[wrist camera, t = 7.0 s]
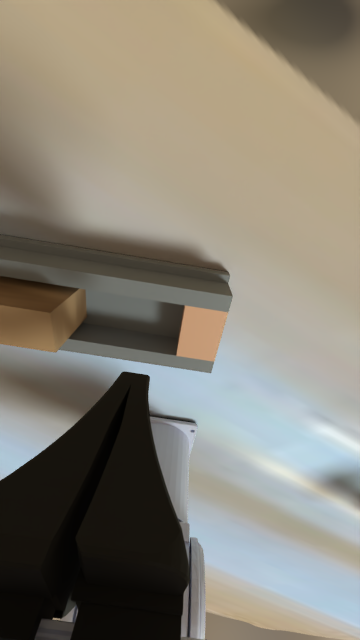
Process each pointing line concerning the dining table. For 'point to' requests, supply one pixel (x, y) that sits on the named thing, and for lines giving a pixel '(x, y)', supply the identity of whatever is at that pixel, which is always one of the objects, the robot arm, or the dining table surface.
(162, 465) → the robot arm
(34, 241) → the rail
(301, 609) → the dining table surface
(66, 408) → the dining table surface
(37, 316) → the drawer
